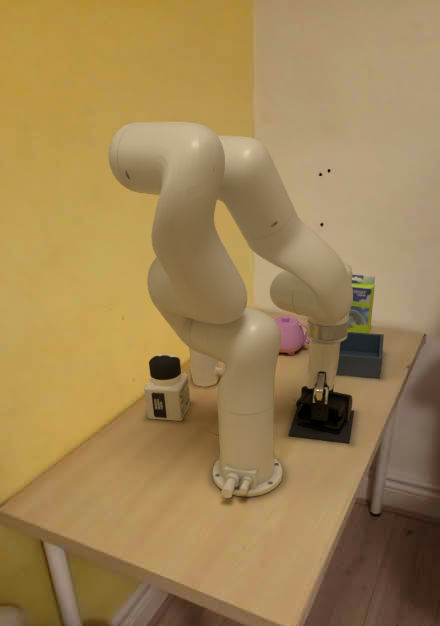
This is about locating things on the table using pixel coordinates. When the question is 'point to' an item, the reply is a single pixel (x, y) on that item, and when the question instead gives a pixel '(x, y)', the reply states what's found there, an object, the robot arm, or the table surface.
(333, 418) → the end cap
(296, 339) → the teapot
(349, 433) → the mat
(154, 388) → the container
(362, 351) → the bin
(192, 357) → the mug
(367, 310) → the box
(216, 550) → the table surface
